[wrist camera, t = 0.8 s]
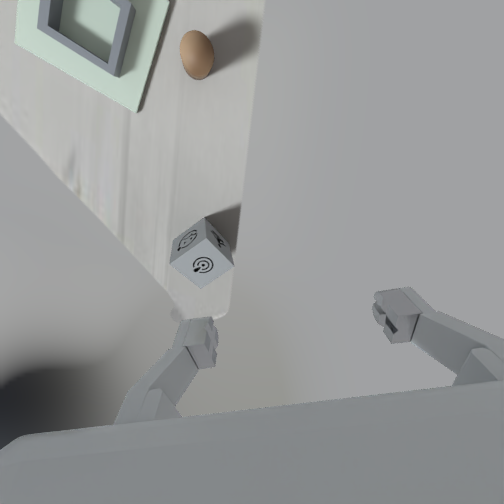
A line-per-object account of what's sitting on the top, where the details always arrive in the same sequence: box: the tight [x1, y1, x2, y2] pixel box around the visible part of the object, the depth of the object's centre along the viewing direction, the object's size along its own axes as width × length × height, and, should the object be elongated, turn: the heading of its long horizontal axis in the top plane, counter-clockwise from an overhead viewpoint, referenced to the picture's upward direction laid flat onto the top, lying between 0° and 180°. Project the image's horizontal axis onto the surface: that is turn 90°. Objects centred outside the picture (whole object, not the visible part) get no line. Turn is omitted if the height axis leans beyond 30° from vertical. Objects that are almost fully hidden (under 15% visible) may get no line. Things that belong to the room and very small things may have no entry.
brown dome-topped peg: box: [180, 30, 214, 80], centre depth 33 cm, size 4×4×9 cm
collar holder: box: [15, 0, 170, 113], centre depth 30 cm, size 16×16×4 cm
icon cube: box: [170, 217, 234, 288], centre depth 52 cm, size 10×10×10 cm
